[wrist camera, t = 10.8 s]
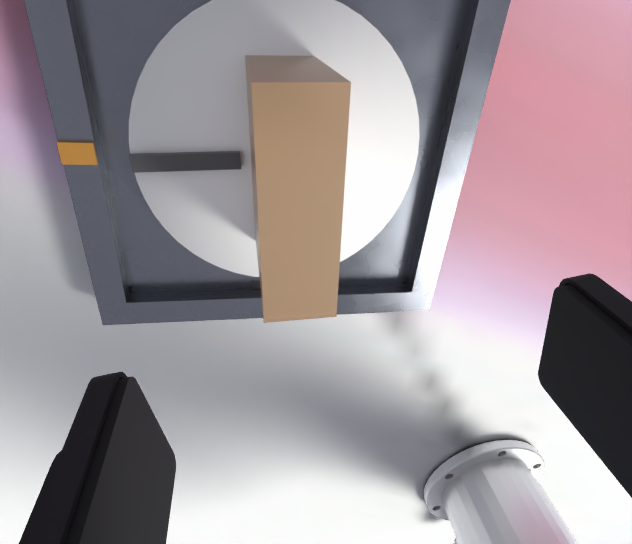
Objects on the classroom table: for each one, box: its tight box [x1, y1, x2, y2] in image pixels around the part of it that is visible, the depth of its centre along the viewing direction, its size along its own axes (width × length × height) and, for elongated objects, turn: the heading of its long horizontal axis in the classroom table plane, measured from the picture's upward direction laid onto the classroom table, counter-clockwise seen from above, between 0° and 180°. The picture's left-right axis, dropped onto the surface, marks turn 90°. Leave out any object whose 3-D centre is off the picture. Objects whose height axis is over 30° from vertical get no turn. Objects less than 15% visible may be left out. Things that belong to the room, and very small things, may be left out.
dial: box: [129, 0, 420, 323], centre depth 19 cm, size 14×14×8 cm
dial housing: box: [24, 0, 511, 325], centre depth 22 cm, size 20×20×2 cm
